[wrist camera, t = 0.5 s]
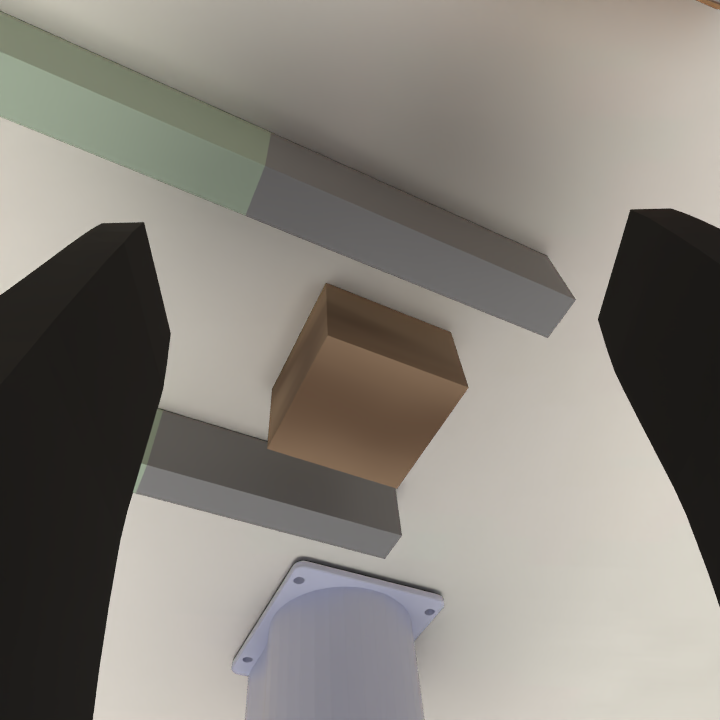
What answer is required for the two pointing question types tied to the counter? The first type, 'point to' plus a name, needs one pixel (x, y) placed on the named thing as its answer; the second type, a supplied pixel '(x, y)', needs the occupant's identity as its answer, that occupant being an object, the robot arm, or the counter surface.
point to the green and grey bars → (292, 215)
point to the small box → (711, 3)
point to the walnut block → (364, 388)
